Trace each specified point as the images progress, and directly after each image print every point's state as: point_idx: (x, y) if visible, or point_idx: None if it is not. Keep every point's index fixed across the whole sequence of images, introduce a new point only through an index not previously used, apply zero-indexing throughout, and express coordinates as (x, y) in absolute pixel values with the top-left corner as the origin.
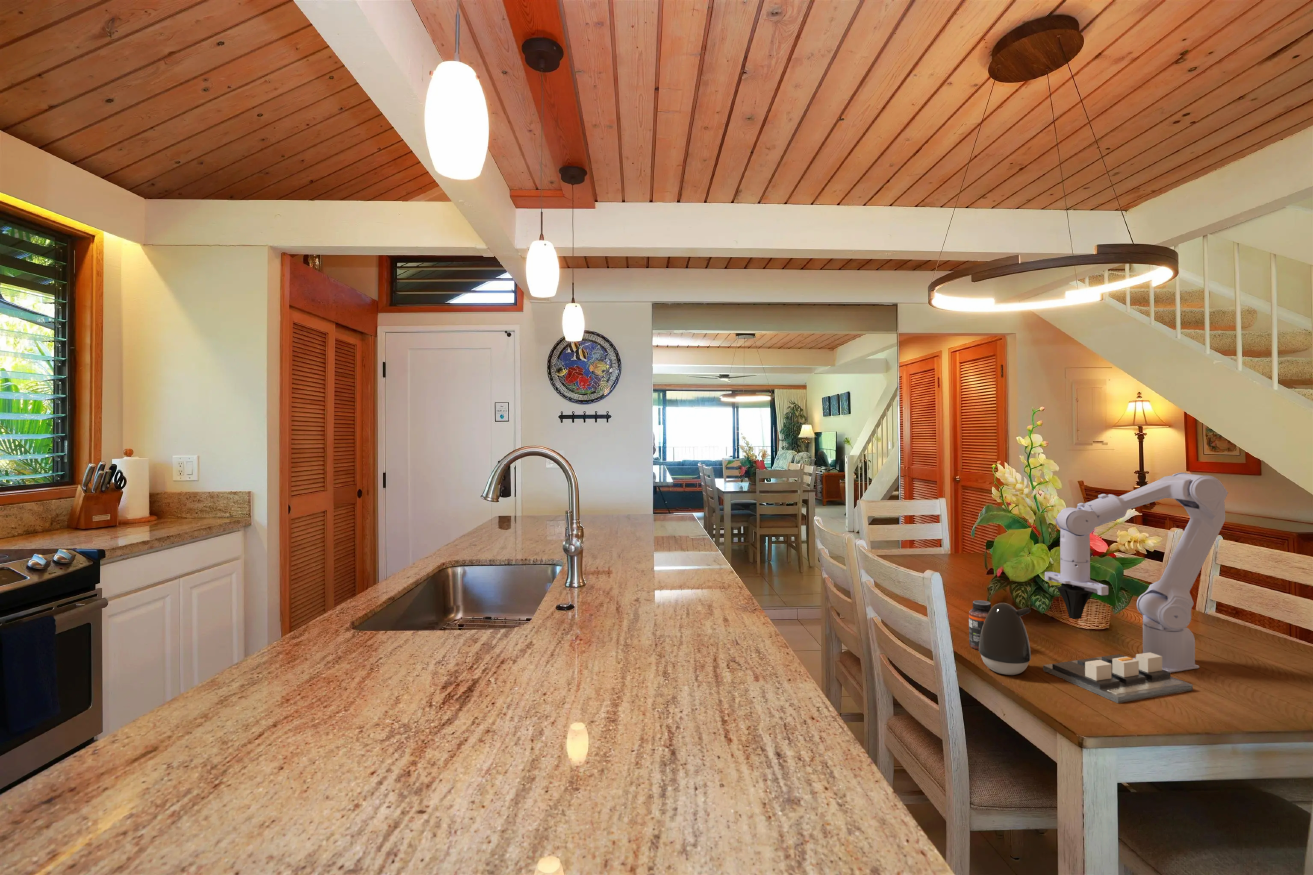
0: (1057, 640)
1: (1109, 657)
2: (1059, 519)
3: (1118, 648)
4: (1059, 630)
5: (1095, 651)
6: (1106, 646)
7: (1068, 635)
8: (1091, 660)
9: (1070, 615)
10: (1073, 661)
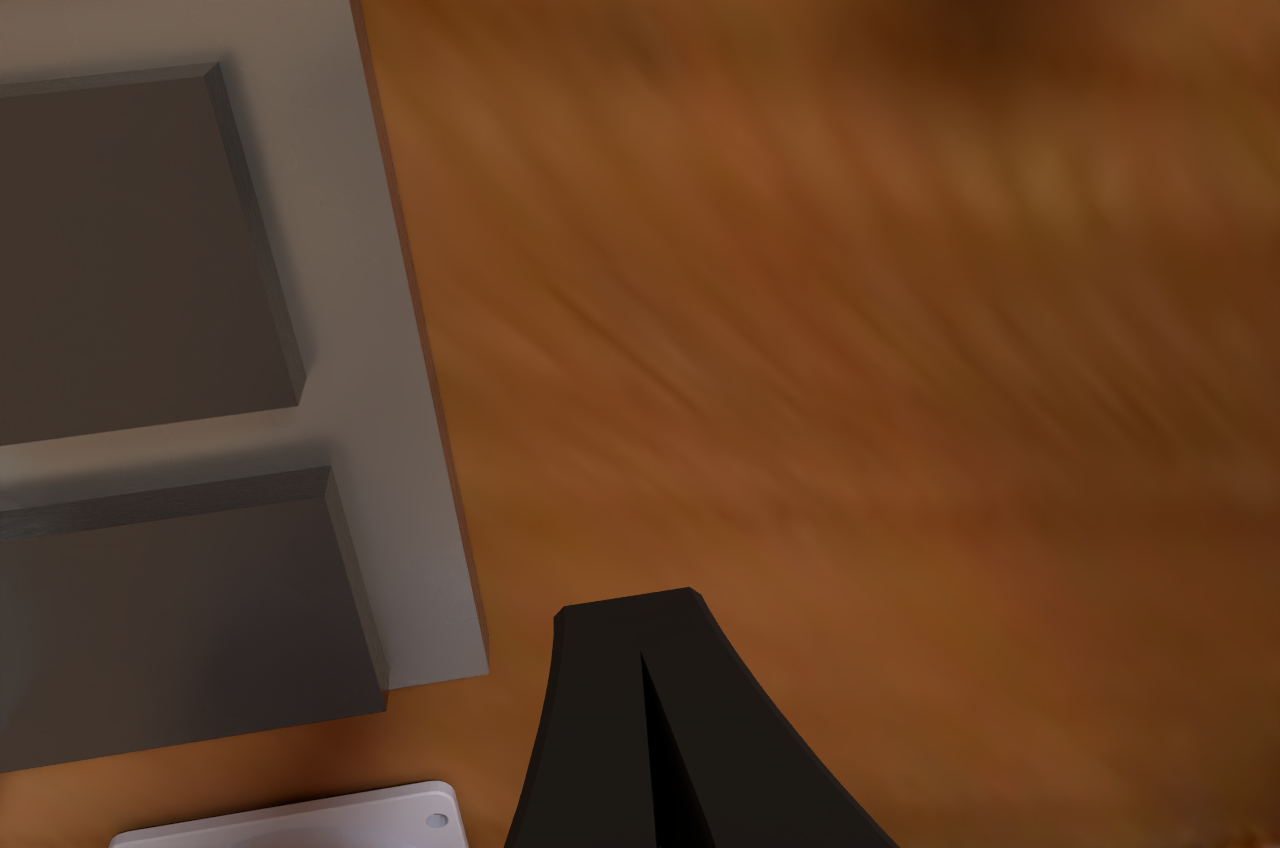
0: (1091, 524)
1: (286, 555)
2: None
3: None
4: (1251, 702)
5: None
6: None
7: (1130, 692)
8: (187, 274)
9: (653, 624)
10: (346, 103)
